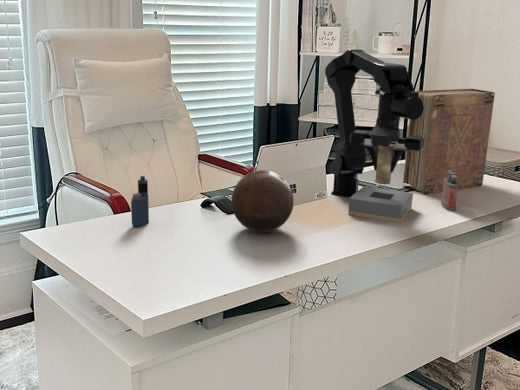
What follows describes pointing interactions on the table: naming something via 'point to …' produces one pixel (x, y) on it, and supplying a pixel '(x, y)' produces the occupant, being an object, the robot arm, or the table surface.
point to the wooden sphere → (262, 201)
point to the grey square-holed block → (380, 204)
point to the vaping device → (140, 204)
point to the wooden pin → (384, 164)
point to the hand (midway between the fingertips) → (383, 171)
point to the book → (450, 139)
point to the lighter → (450, 192)
